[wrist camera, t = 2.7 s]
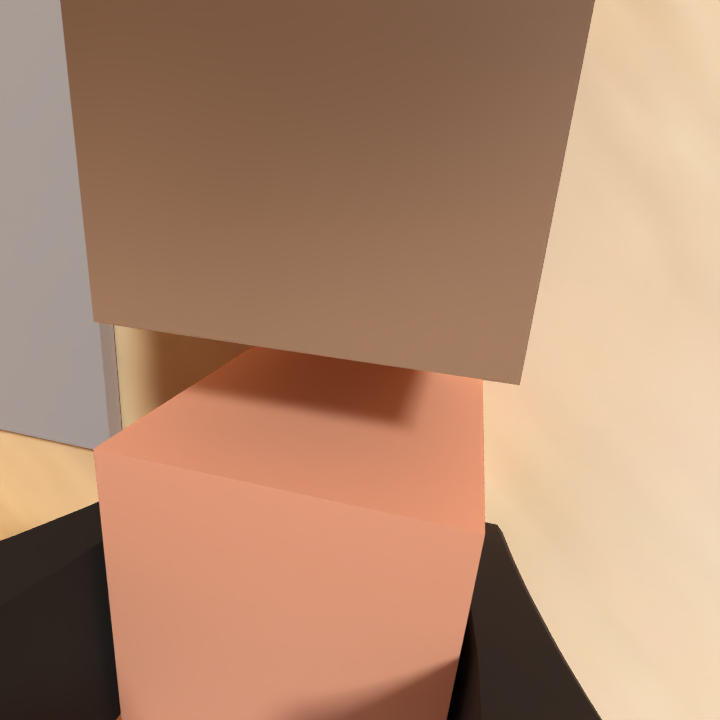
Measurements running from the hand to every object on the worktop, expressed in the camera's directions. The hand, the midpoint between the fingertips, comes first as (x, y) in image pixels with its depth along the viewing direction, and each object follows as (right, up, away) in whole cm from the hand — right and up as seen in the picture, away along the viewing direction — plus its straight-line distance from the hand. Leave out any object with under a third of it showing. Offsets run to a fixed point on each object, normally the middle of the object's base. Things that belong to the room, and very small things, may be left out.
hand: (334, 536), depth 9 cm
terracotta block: (0, 0, +1) cm, 1 cm away
